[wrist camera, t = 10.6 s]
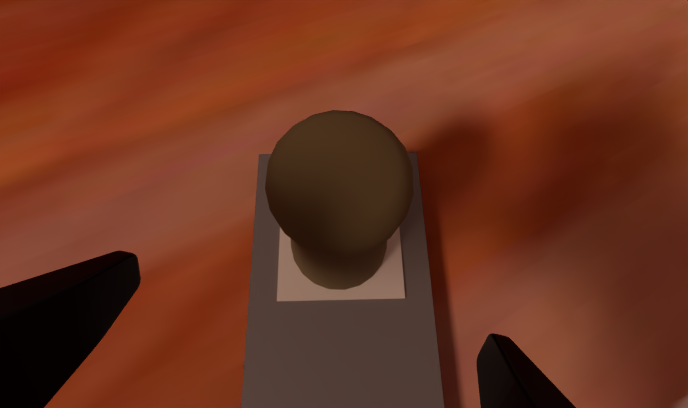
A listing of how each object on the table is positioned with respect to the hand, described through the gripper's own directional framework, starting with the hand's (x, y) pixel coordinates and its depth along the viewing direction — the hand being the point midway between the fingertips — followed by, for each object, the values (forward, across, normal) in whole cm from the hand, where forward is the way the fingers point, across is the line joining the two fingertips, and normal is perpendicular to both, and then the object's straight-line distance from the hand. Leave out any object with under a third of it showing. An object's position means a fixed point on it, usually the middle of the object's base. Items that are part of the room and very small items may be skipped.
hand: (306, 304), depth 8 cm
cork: (+11, 0, +5) cm, 12 cm away
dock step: (+11, -1, +8) cm, 14 cm away
